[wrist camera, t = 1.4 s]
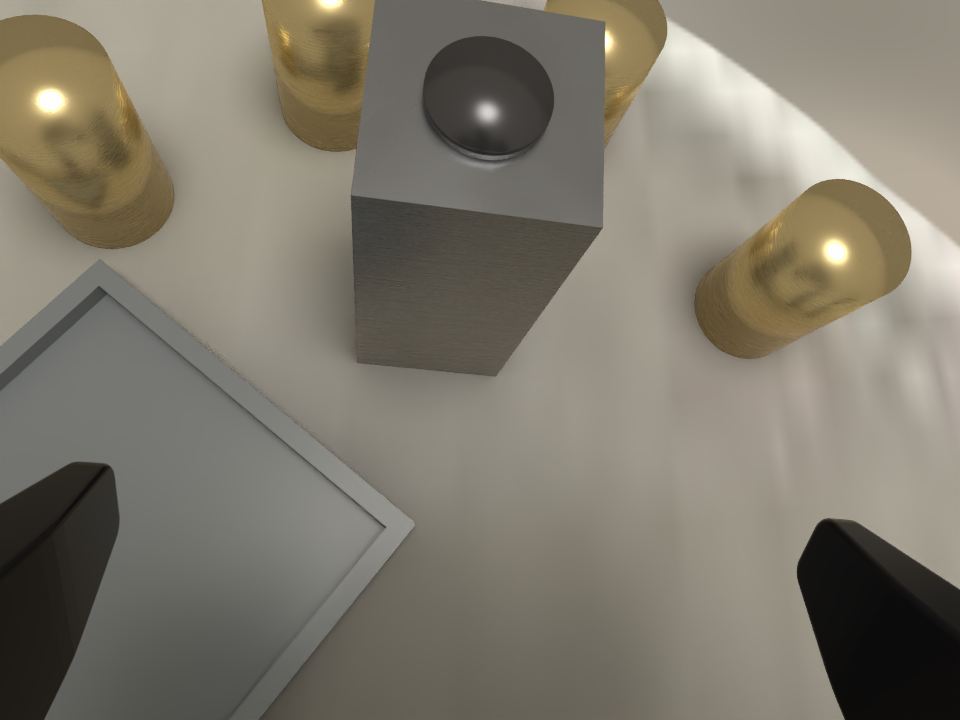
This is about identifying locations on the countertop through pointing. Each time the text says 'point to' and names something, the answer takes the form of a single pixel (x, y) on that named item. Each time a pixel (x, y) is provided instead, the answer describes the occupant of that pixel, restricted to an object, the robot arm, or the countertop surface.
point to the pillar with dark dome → (472, 177)
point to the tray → (185, 510)
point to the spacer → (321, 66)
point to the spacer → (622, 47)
